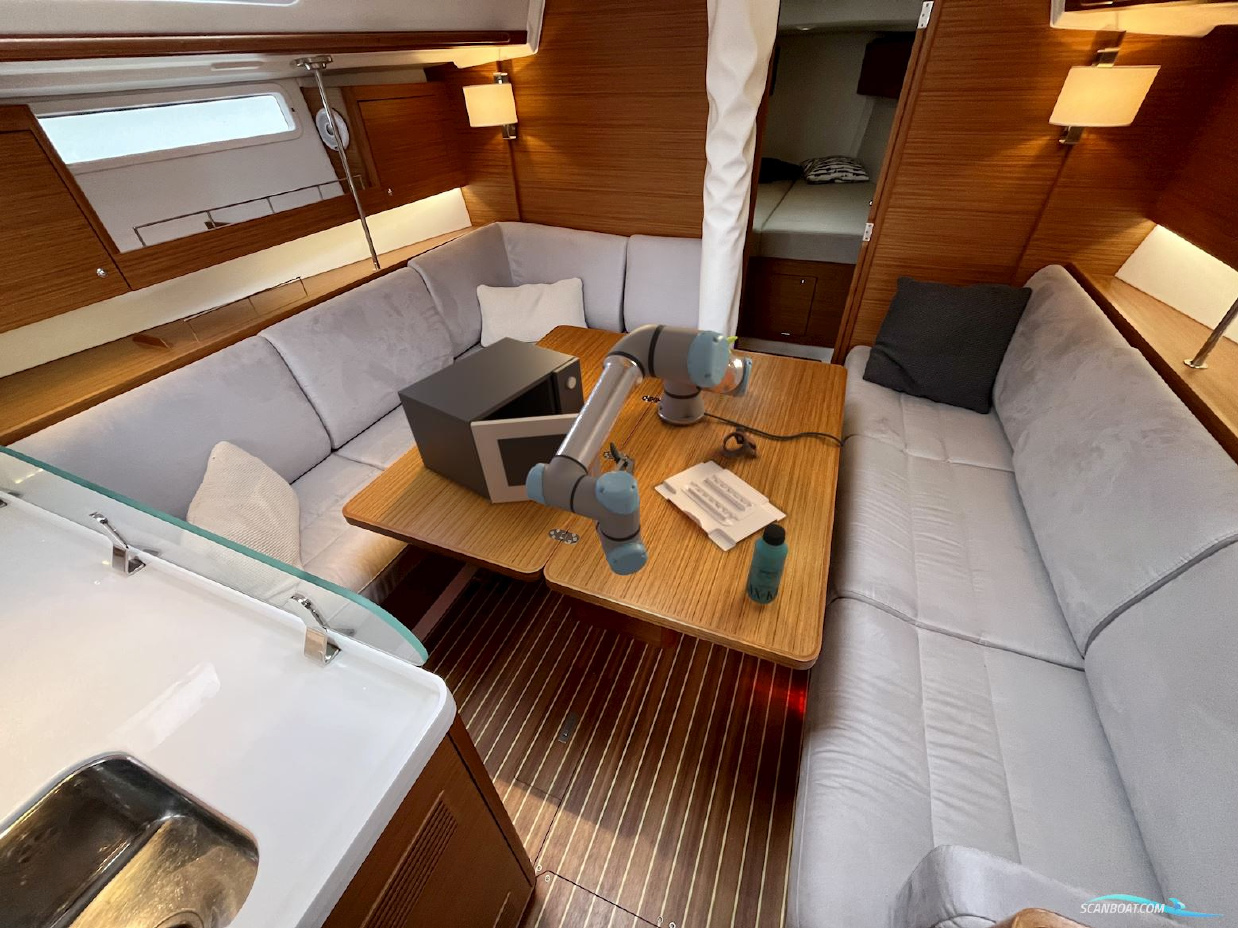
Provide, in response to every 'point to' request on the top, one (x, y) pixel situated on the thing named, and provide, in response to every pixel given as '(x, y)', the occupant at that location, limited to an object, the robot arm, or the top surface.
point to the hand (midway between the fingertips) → (584, 452)
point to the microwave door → (520, 451)
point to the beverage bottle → (767, 565)
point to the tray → (719, 503)
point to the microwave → (487, 402)
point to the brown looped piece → (740, 439)
